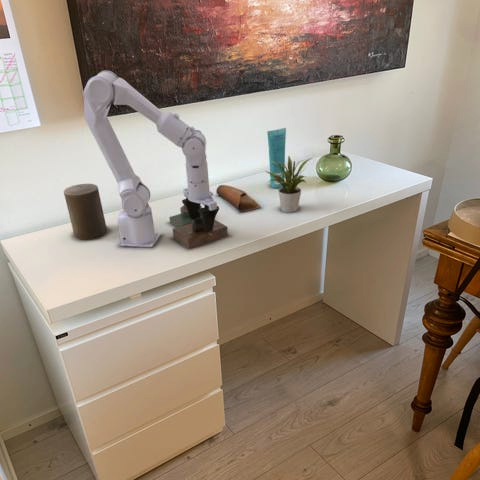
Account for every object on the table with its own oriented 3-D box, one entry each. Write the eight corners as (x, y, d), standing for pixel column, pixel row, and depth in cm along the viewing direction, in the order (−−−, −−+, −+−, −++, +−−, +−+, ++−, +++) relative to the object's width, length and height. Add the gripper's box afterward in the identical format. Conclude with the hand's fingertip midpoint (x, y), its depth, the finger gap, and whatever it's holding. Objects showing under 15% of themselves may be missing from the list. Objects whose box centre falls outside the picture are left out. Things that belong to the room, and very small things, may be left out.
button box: (182, 231, 148) (181, 218, 146) (168, 222, 154) (167, 210, 152) (211, 222, 152) (210, 210, 150) (196, 214, 158) (195, 202, 156)
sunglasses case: (262, 206, 160) (252, 190, 155) (246, 220, 160) (235, 205, 155) (238, 189, 173) (228, 175, 169) (223, 203, 173) (212, 189, 169)
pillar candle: (99, 240, 145) (88, 190, 136) (68, 239, 147) (55, 190, 138) (112, 227, 153) (102, 178, 144) (82, 226, 154) (71, 178, 146)
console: (192, 251, 137) (191, 240, 135) (173, 238, 144) (172, 228, 142) (231, 238, 142) (231, 227, 141) (211, 226, 150) (210, 216, 148)
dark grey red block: (195, 232, 139) (194, 220, 137) (192, 230, 140) (191, 218, 138) (212, 227, 142) (211, 215, 140) (209, 225, 143) (208, 213, 141)
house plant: (295, 196, 167) (296, 146, 158) (323, 208, 157) (325, 156, 148) (260, 206, 161) (259, 155, 152) (287, 220, 151) (287, 166, 142)
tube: (280, 181, 180) (280, 126, 169) (289, 185, 177) (290, 128, 166) (264, 186, 176) (263, 130, 165) (273, 190, 173) (273, 132, 162)
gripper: (225, 183, 130) (228, 231, 138) (196, 170, 140) (201, 215, 148) (202, 189, 127) (206, 238, 134) (174, 175, 137) (180, 221, 144)
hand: (202, 227), depth 141 cm, fingers open, 7 cm apart
